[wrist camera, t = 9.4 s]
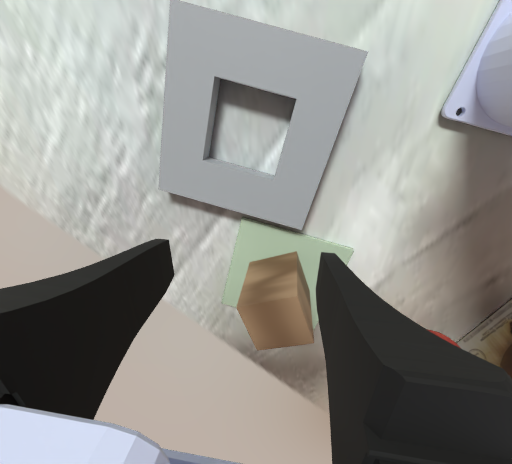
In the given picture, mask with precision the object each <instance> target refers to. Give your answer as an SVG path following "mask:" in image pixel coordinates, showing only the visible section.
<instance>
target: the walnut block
mask: <svg viewBox="0 0 512 464" xmlns="http://www.w3.org/2000/svg"><path fill="white" fill-rule="evenodd" d="M236 308H237V310H238V312H239V314H240V316H241V318H242V320H243V322H244V324H245V326H246V328H247V331H248V333H249V335H250V337H251V339H252V341H253V343H254V345H255V347H256V349H257V350H265V349H272V348H280V347H288V346H296V345H303V344H311V343H314V337H313V325H312V313H311V301H310V290H309V287H308V284H307V281H306V278H305V275H304V272H303V269H302V266H301V263H300V260H299V257H298V254H297V251H295V252H291V253H287V254H283V255H278V256H274V257H270V258H265V259H261V260H257V261H252V262H250V263H249V266H248V270H247V273H246V276H245V280H244V283H243V286H242V290H241V293H240V296H239V300H238V303H237V307H236Z"/></svg>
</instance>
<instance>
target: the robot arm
mask: <svg viewBox="0 0 512 464" xmlns="http://www.w3.org/2000/svg"><path fill="white" fill-rule="evenodd" d="M459 108H461V109H462V112H461V114H460V115H458V116H457V115H456V111H457V110H458V109H459ZM441 114H442V116H443V117H444V118H447V119H451V120H454V121H458V122H462V123H465V124H469V125H473V126H476V127H480V128H484V129H487V130H491V131H494V132H498V133H502V134H505V135H509V136H512V0H500V1H499V3H498V5H497V7H496V9H495V10H494V12H493V14H492V16H491V18H490V20H489V22H488V24H487V25H486V27H485V29H484V31H483V33H482V35H481V37H480V38H479V40H478V42H477V44H476V46H475V48H474V50H473V52H472V53H471V55H470V57H469V59H468V61H467V63H466V65H465V67H464V68H463V70H462V72H461V74H460V76H459V78H458V80H457V82H456V83H455V85H454V87H453V89H452V91H451V93H450V95H449V97H448V98H447V100H446V102H445V104H444V106H443V108H442V111H441ZM173 277H174V269H173V263H172V257H171V251H170V245H169V240H165V239H155V240H151V241H148V242H146V243H143V244H141V245H138V246H136V247H134V248H131V249H129V250H127V251H124V252H122V253H120V254H117V255H115V256H112V257H110V258H107V259H105V260H102V261H100V262H97V263H95V264H92V265H89V266H86V267H83V268H81V269H78V270H74V271H71V272H68V273H65V274H62V275H58V276H54V277H50V278H46V279H42V280H39V281H35V282H31V283H26V284H22V285H17V286H13V287H7V288H2V289H0V464H241V463H236V462H231V461H226V460H220V459H214V458H210V457H205V456H199V455H194V454H189V453H183V452H178V451H172V450H168V449H163V448H161V447H160V446H159V445H158V444H157V443H155V442H154V441H152V440H151V439H149V438H148V437H146V436H144V435H143V434H141V433H140V432H138V431H134V430H131V429H129V428H125V427H122V426H119V425H116V424H112V423H107V422H102V421H96V420H93V419H94V417H95V415H96V413H97V410H98V408H99V406H100V404H101V402H102V399H103V398H104V395H105V393H106V391H107V389H108V387H109V385H110V383H111V381H112V379H113V377H114V375H115V373H116V371H117V369H118V367H119V365H120V363H121V361H122V359H123V357H124V356H125V354H126V352H127V350H128V349H129V347H130V345H131V343H132V341H133V339H134V338H135V336H136V335H137V333H138V332H139V330H140V329H141V327H142V326H143V324H144V323H145V322H146V320H147V319H148V317H149V316H150V314H151V313H152V312H153V310H154V309H155V307H156V306H157V304H158V303H159V301H160V300H161V299H162V297H163V296H164V294H165V293H166V291H167V289H168V287H169V285H170V283H171V281H172V279H173ZM316 306H317V314H318V319H319V325H320V331H321V336H322V342H323V347H324V353H325V360H326V369H327V381H328V395H329V410H330V427H331V445H332V464H512V379H511V377H510V376H509V375H508V374H507V373H506V371H505V370H504V369H503V368H501V367H498V366H496V365H494V364H492V363H490V362H488V361H486V360H484V359H482V358H480V357H478V356H475V355H473V354H471V353H469V352H467V351H465V350H463V349H461V348H459V347H457V346H455V345H453V344H451V343H450V342H448V341H446V340H444V339H442V338H440V337H439V336H437V335H435V334H433V333H432V332H430V331H428V330H426V329H425V328H423V327H421V326H420V325H418V324H417V323H415V322H414V321H412V320H411V319H409V318H407V317H406V316H404V315H403V314H401V313H400V312H399V311H397V310H396V309H394V308H393V307H392V306H390V305H389V304H388V303H386V302H385V301H384V300H383V299H381V298H380V297H379V296H378V295H376V294H375V293H374V292H373V291H372V290H371V289H370V288H369V287H367V286H366V285H365V284H364V283H363V282H362V281H361V280H360V279H359V278H358V277H357V276H356V275H355V274H354V273H353V272H352V271H351V270H350V269H349V268H348V267H347V266H346V264H345V263H344V262H343V261H342V260H341V259H340V258H339V257H338V256H337V255H336V254H335V253H327V252H321V256H320V263H319V269H318V276H317V283H316Z"/></svg>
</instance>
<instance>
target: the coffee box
mask: <svg viewBox="0 0 512 464" xmlns="http://www.w3.org/2000/svg"><path fill="white" fill-rule="evenodd" d="M457 344H458V345H459V347H460V348H461V349H463V350H465V351H467V352H469V353H471V354H473V355H475V356H478V357H480V358H482V359H484V360H486V361H488V362H490V363H492V364H494V365H496V366H498V367H501V368H503V369H504V370H505V371H506V373H507V374H508V375H509V376H510V377H511V379H512V300H510V301H509V302H508V303H506V304H505V305H504V306H503V307H501V308H500V309H499V310H498V311H496V312H495V313H494V314H493V315H491V316H490V317H489V318H488V319H486V320H485V321H484V322H483V323H481V324H480V325H479V326H478V327H476V328H475V329H474V330H473V331H471V332H470V333H469V334H468V335H466V336H465V337H464V338H462V339H461V340H460V341H459V342H457Z"/></svg>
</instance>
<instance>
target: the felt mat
mask: <svg viewBox="0 0 512 464" xmlns="http://www.w3.org/2000/svg"><path fill="white" fill-rule="evenodd" d="M295 251H297V254H298V257H299V260H300V263H301V266H302V269H303V272H304V275H305V278H306V281H307V284H308V287H309V290H310V301H311V313H312V325H313V330H314V329H315V327H316V325H317V323H318V321H319V319H318V314H317V306H316V283H317V276H318V269H319V263H320V256H321V252H327V253H335V254H336V255H337V256H338V257H339V258H340V259H341V260H342V261H343V262H344V263H345V264H346V265H347V263H348V261H349V260H350V258H351V256H352V254H353V252H354V250H353V248H349V247H346V246H342V245H339V244H335V243H332V242H328V241H325V240H321V239H318V238H314V237H311V236H307V235H304V234H300V233H297V232H293V231H290V230H286V229H283V228H279V227H276V226H272V225H269V224H265V223H262V222H258V221H255V220H251V219H248V218H244V217H242V219H241V223H240V228H239V232H238V236H237V240H236V244H235V249H234V253H233V257H232V261H231V265H230V269H229V274H228V278H227V282H226V286H225V290H224V294H223V299H222V304H226V305H229V306H233V307H237V303H238V300H239V296H240V293H241V290H242V286H243V283H244V280H245V276H246V273H247V270H248V266H249V263H250V262H252V261H257V260H261V259H265V258H270V257H274V256H278V255H283V254H287V253H291V252H295Z"/></svg>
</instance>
